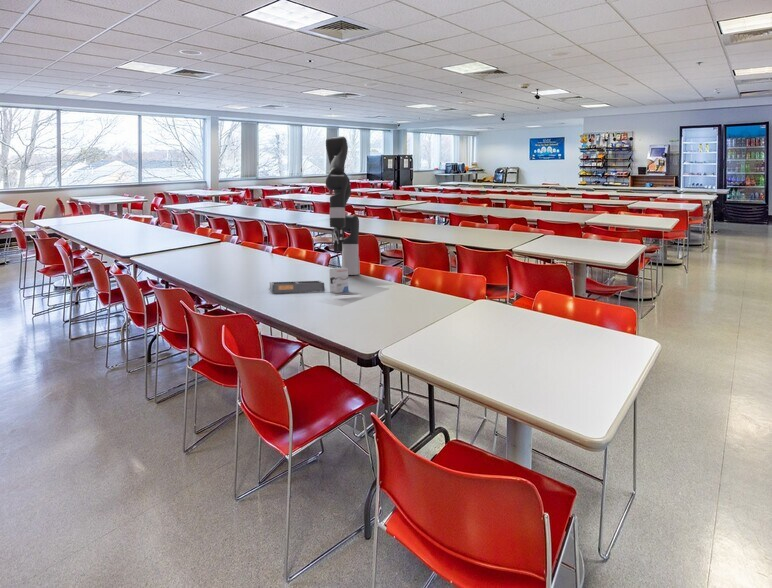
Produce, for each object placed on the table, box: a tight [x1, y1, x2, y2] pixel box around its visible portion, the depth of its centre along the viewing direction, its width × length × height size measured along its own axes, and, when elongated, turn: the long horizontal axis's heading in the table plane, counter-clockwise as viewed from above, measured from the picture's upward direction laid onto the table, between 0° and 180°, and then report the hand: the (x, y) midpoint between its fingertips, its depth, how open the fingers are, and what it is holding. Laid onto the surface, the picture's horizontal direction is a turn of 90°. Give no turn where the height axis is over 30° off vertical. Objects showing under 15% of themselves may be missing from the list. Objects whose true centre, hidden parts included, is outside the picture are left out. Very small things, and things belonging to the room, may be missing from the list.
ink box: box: [329, 267, 349, 294], centre depth 234 cm, size 8×5×12 cm, turn 140°
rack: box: [269, 280, 325, 295], centre depth 238 cm, size 25×14×4 cm, turn 109°
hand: (338, 251), depth 233 cm, fingers open, 7 cm apart
